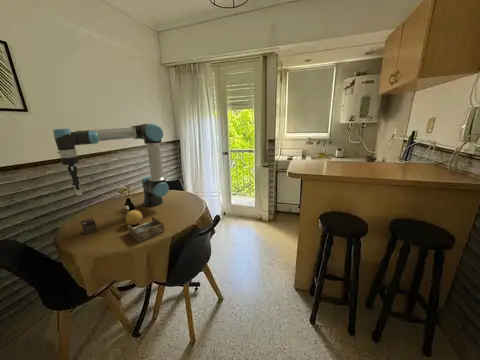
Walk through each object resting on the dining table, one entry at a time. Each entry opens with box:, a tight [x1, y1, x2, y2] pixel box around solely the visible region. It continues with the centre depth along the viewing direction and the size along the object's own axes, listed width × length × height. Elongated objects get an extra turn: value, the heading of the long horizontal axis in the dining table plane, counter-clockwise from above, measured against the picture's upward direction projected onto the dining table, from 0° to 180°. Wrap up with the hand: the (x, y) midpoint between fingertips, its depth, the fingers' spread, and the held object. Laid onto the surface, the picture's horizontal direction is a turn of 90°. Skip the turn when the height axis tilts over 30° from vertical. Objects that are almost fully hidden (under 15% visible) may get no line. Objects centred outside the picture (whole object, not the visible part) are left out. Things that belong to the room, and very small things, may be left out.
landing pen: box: [127, 215, 166, 243], centre depth 126 cm, size 16×16×6 cm
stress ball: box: [125, 209, 143, 226], centre depth 135 cm, size 10×10×10 cm
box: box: [80, 217, 98, 235], centre depth 128 cm, size 6×6×7 cm
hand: (78, 192), depth 120 cm, fingers open, 13 cm apart
